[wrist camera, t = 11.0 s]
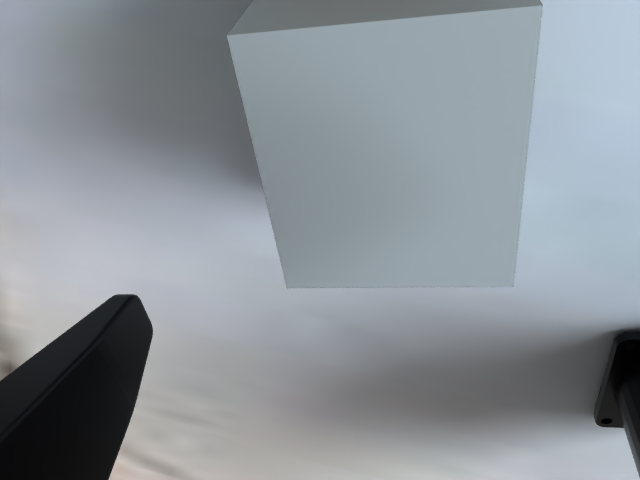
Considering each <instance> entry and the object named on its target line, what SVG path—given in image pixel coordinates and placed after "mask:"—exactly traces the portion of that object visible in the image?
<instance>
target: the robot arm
mask: <svg viewBox="0 0 640 480" xmlns="http://www.w3.org/2000/svg"><path fill="white" fill-rule="evenodd" d="M152 335H153V328H152V324H151V321H150V319H149V317H148V315H147V313H146V311H145V308H144V306H143V304H142V302H141V300H140V298H139V297H138V296H136V295H134V294H118V295H114V296H112V297H111V298H110V299H108V300H107V301H106V302H104V303H103V304H102V305H100V306H99V307H98V308H96V309H95V310H94V311H92V312H91V313H90V314H88V315H87V316H86V317H84V318H83V319H82V320H80V321H79V322H78V323H76V324H75V325H74V326H72V327H71V328H70V329H68V330H67V331H66V332H64V333H63V334H62V335H61V336H59V337H58V338H57V339H55V340H54V341H53V342H51V343H50V344H49V345H47V346H46V347H45V348H43V349H42V350H41V351H39V352H38V353H37V354H35V355H34V356H33V357H31V358H30V359H29V360H27V361H26V362H25V363H23V364H22V365H21V366H19V367H18V368H17V369H15V370H14V371H13V372H11V373H10V374H9V375H8V376H6V377H5V378H4V379H2V380H1V381H0V480H108V479H109V477H110V474H111V471H112V469H113V466H114V463H115V460H116V458H117V455H118V452H119V450H120V447H121V444H122V441H123V439H124V436H125V433H126V431H127V428H128V425H129V422H130V419H131V417H132V414H133V411H134V407H135V404H136V400H137V396H138V392H139V388H140V384H141V380H142V376H143V372H144V368H145V364H146V360H147V356H148V352H149V348H150V344H151V340H152ZM628 343H629V344H628ZM594 418H595V422H596V424H597V425H599V426H601V427H616V428H624V429H625V432H626V436H627V439H628V442H629V445H630V448H631V451H632V455H633V458H634V461H635V464H636V467H637V470H638V474H639V477H640V332H627V333H622V334H620V335H618V336H617V337H616V338H615V340H614V343H613V347H612V350H611V354H610V357H609V361H608V365H607V368H606V372H605V375H604V379H603V383H602V386H601V390H600V393H599V397H598V400H597V404H596V408H595V411H594Z"/></svg>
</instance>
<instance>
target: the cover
mask: <svg viewBox="0 0 640 480" xmlns="http://www.w3.org/2000/svg"><path fill="white" fill-rule="evenodd" d="M542 7H543V5H542V3H541V1H540V0H253V1H252V2H251V3H250V5H249V6H248V7H247V9H246V10H245V11H244V13H243V14H242V15H241V17H240V18H239V19H238V21H237V22H236V24H235V25H234V26H233V28H232V29H231V30H230V32H229V33H228V34H227V39H228V43H229V48H230V52H231V56H232V60H233V64H234V69H235V73H236V77H237V81H238V85H239V89H240V94H241V98H242V102H243V106H244V110H245V115H246V119H247V123H248V127H249V131H250V136H251V140H252V144H253V148H254V152H255V157H256V161H257V165H258V169H259V173H260V178H261V182H262V186H263V190H264V194H265V199H266V203H267V207H268V211H269V215H270V220H271V224H272V228H273V232H274V236H275V241H276V245H277V249H278V253H279V257H280V262H281V266H282V270H283V274H284V278H285V282H286V287H287V288H384V287H513V286H514V277H515V267H516V257H517V248H518V238H519V228H520V219H521V209H522V200H523V190H524V180H525V171H526V161H527V151H528V142H529V132H530V122H531V113H532V103H533V94H534V84H535V74H536V65H537V55H538V45H539V36H540V26H541V17H542Z"/></svg>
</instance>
